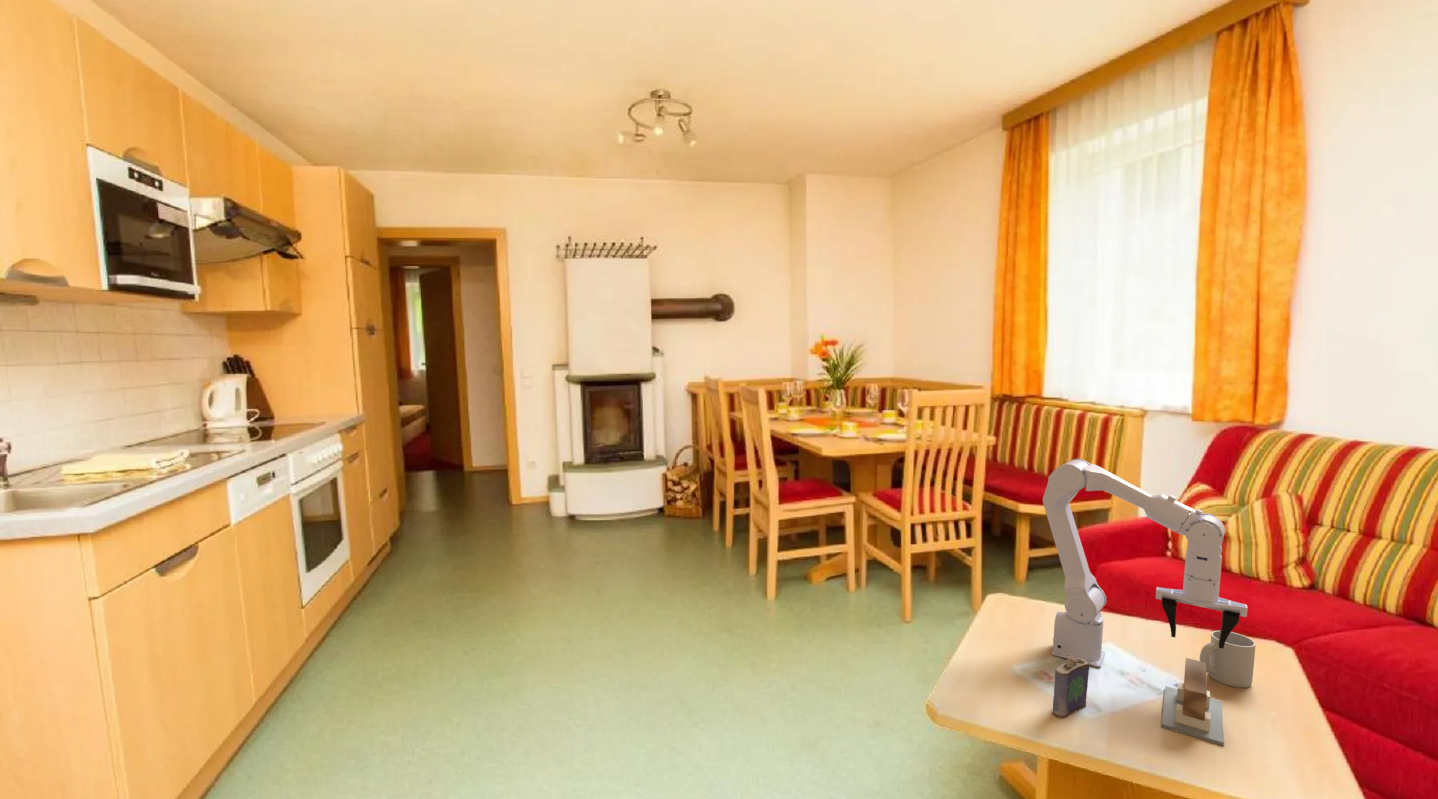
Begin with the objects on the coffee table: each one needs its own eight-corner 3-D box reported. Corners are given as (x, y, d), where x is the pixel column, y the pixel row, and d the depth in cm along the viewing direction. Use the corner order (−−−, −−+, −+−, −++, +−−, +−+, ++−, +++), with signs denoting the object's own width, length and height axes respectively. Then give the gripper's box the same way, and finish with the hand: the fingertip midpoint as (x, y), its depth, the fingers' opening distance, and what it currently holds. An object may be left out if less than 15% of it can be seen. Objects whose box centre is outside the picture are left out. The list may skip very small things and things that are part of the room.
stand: (1161, 726, 116) (1162, 711, 116) (1165, 688, 129) (1166, 674, 129) (1223, 746, 111) (1225, 729, 111) (1221, 704, 124) (1222, 689, 123)
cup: (1261, 688, 129) (1265, 647, 128) (1212, 688, 129) (1215, 646, 128) (1233, 670, 136) (1236, 630, 135) (1186, 670, 136) (1189, 630, 136)
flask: (1062, 720, 118) (1065, 665, 117) (1047, 712, 121) (1050, 658, 120) (1089, 705, 123) (1093, 653, 122) (1074, 698, 125) (1077, 646, 125)
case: (1182, 714, 115) (1184, 688, 115) (1184, 681, 126) (1185, 657, 126) (1204, 721, 113) (1206, 694, 113) (1204, 687, 124) (1206, 662, 124)
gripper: (1156, 573, 128) (1152, 637, 129) (1250, 590, 119) (1244, 659, 120) (1158, 563, 133) (1154, 625, 134) (1248, 579, 124) (1242, 645, 126)
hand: (1196, 640), depth 128 cm, fingers open, 7 cm apart
